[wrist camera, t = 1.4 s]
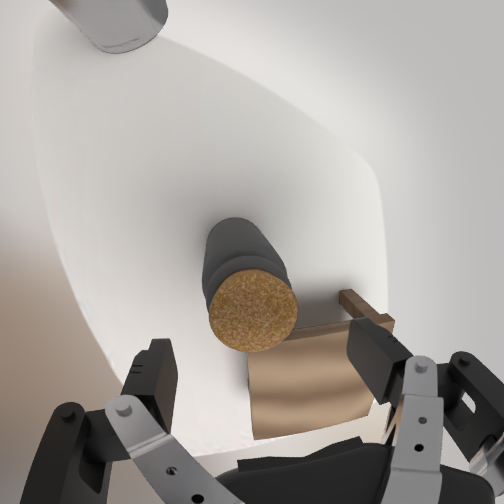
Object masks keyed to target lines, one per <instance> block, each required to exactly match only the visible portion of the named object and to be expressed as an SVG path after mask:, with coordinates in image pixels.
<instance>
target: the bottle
mask: <svg viewBox="0 0 504 504" xmlns="http://www.w3.org/2000/svg"><path fill="white" fill-rule="evenodd" d="M202 288H203V293H204V296H205V298H206V306H207V310H208V313H209V322H210V326H211V329H212V331H213V332H214V334H215V335H216V337H217V338H218V339H219V340H220V341H221V342H222V343H223V344H225V345H226V346H228V347H230V348H232V349H235V350H238V351H243V352H258V351H263V350H267V349H269V348H271V347H274V346H276V345H277V344H279V343H280V342H282V341H283V340H284V339H285V338H286V337H287V336H288V335H289V334H290V332H291V331H292V329H293V327H294V325H295V323H296V320H297V316H298V304H297V300H296V297H295V295H294V293H293V291H292V288H291V284H290V282H289V279H288V278H287V272H286V268H285V265H284V263H283V261H282V260H281V258H280V256H279V255H278V254H277V252H276V251H275V250H274V248H273V247H272V246H271V244H270V243H269V242H268V240H267V239H266V238H265V237H264V235H263V234H262V233H261V231H260V230H259V229H258V228H257V227H256V226H255V225H254V224H253V223H251V222H250V221H248V220H245V219H242V218H229V219H226V220H223V221H221V222H220V223H218V224H217V225H216V226H215V227H214V228H213V229H212V231H211V232H210V234H209V237H208V240H207V244H206V251H205V258H204V266H203V274H202Z"/></svg>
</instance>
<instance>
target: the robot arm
mask: <svg viewBox="0 0 504 504" xmlns="http://www.w3.org/2000/svg"><path fill="white" fill-rule="evenodd" d="M49 1H50V2H51V3H53V4H54V5H55V6H56V7H57V8H58V9H59V10H60V11H61V12H62V13H63V14H64V15H65V16H66V17H67V18H68V19H69V20H70V21H71V22H72V23H73V24H74V25H75V26H76V27H77V28H78V29H79V30H80V31H81V32H82V33H83V34H84V35H85V36H86V37H87V38H88V39H89V40H90V41H91V42H92V43H93V44H94V45H95V46H96V47H97V48H98V49H100V50H102V51H104V52H107V53H122V52H127V51H130V50H133V49H135V48H138V47H140V46H142V45H143V44H145V43H147V42H148V41H150V40H151V39H152V38H153V37H155V36H156V35H157V34H158V33H159V31H160V30H161V29H162V28H163V26H164V24H165V23H166V20H167V17H168V8H167V4H166V0H49ZM346 351H347V357H348V359H349V361H350V362H351V364H352V365H353V367H354V368H355V369H356V371H357V372H358V374H359V375H360V377H361V378H362V380H363V381H364V383H365V384H366V386H367V387H368V388H369V390H370V391H371V393H372V394H373V396H374V397H375V399H376V400H377V402H378V403H379V405H382V404H384V403H387V402H390V403H391V407H390V409H389V413H388V417H387V422H386V426H385V430H384V434H383V437H382V441H381V444H379V443H363V442H362V440H361V438H360V437H359V436H358V437H355V438H351V439H348V440H344V441H341V442H337V443H334V444H331V445H329V446H327V447H325V448H323V449H321V450H319V451H317V452H314V453H312V454H310V455H308V456H305V457H263V458H262V457H261V458H253V459H243V460H237V463H238V468H236V469H233V470H230V471H227V472H225V473H223V474H221V475H219V476H217V477H215V478H214V477H212V475H211V474H209V473H208V472H207V471H206V470H205V469H204V468H203V467H202V466H201V465H200V464H199V463H198V462H197V461H196V460H195V459H194V458H193V457H192V456H191V455H190V454H189V453H188V452H187V451H186V450H185V449H184V447H183V446H182V445H181V444H180V443H179V442H178V441H177V440H176V439H175V438H174V437H173V436H172V435H171V434H170V433H171V425H172V417H173V409H174V402H175V395H176V388H177V381H178V371H177V365H176V361H175V357H174V353H173V348H172V344H171V341H170V339H169V338H167V339H152V341H151V344H150V347H149V349H148V350H142V351H141V352H139V353H138V354H137V355H136V356H135V358H134V360H133V363H132V367H131V368H130V370H129V373H128V376H127V378H126V381H125V384H124V386H123V389H122V392H121V395H120V396H117V397H115V398H113V399H111V400H110V401H109V402H108V403H107V405H106V407H105V409H102V410H95V411H88V412H85V410H84V409H83V407H82V406H81V405H80V404H78V403H75V402H67V403H64V404H61V405H59V406H58V407H57V408H56V409H55V410H54V412H53V414H52V416H51V418H50V421H49V423H48V425H47V427H46V430H45V432H44V435H43V437H42V439H41V442H40V445H39V447H38V450H37V452H36V455H35V457H34V460H33V463H32V466H31V469H30V472H29V474H28V477H27V480H26V484H25V487H24V490H23V494H22V497H21V501H20V504H106V502H107V495H108V487H109V481H110V474H111V468H112V462H113V461H120V460H127V459H132V460H133V461H134V463H135V464H136V466H137V467H138V468H139V470H140V471H141V473H142V474H143V476H144V477H145V478H146V480H147V481H148V482H149V484H150V485H151V486H152V488H153V489H154V490H155V491H156V493H157V494H158V495H159V497H160V498H161V499H162V500H163V501H164V502H165V504H495V498H496V497H497V496H500V495H502V494H504V384H503V383H502V382H501V381H500V380H499V379H498V378H497V377H496V376H495V375H494V374H493V373H492V372H491V371H490V370H489V369H488V368H487V367H486V366H484V365H483V364H482V363H481V362H480V361H479V360H478V359H477V358H476V357H475V356H474V355H472V354H470V353H468V352H463V351H460V352H456V353H454V354H453V355H452V356H451V359H450V362H449V363H444V364H436V363H435V362H434V361H433V360H432V359H430V358H428V357H425V356H413V355H412V353H411V352H409V351H408V350H407V348H406V347H405V346H403V345H402V344H401V343H400V342H399V341H398V340H397V339H396V338H395V337H393V335H392V334H391V333H390V332H389V331H388V330H387V329H385V328H383V327H381V326H379V325H375V324H374V323H373V322H372V321H371V320H370V319H369V318H368V317H363V318H358V319H352V320H351V322H350V327H349V334H348V341H347V347H346ZM465 392H466V393H467V394H468V395H469V396H470V397H471V398H472V400H473V401H474V402H475V405H476V409H475V413H473V412H472V411H471V410H470V409H469V407H468V406H467V405H466V404H465V403H464V401H463V400H462V397H463V395H464V393H465ZM443 426H444V427H445V429H446V430H447V431H448V433H449V434H450V436H451V437H452V439H453V440H454V442H455V443H456V444H457V446H458V447H459V449H460V450H461V452H462V453H463V455H464V456H465V458H466V459H467V461H468V462H469V470H470V472H466V471H462V470H459V469H455V468H451V467H448V466H445V465H441V464H440V459H441V450H442V435H443Z"/></svg>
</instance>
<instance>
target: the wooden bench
mask: <svg viewBox="0 0 504 504" xmlns="http://www.w3.org/2000/svg"><path fill="white" fill-rule="evenodd" d="M339 303H340V304H341V305H342V306H343V308H344V309H345V310H346V311H347V312H348V313H349V314H350V315H351V316H352V317H353V319H358V318H363V317H368V318H369V319H370V320H371V321H372V322H373V323H374V324H375V325H379V326H381V327H383V328H385V329H387V330H388V331H389V332H390V333H391V334H392V332H393V328H394V323H395V320H394V319H393V318H392V317H391V316H389V315H388V314H387V313H385V314H379V313H378V312H377V311H375V310H374V309H373V308H372V307H371V306H370V305H369V304H368V303H367V302H366V301H365V300H363V299H362V298H361V297H360V296H359V295H358V294H357V293H356V292H355V291H353V290H352V289H348V290H341V291H340V297H339ZM350 322H351V320H350V321H344V322H338V323H332V324H326V325H320V326H313V327H307V328H300V329H292V331H291V332H290V334H289V335H288V336H287V337H286V338H285V339H284V340H283V341H282V342H280V343H279V344H277V345H276V346H274V347H271V348H269V349H267V350H263V351H258V352H247V365H248V388H249V394H250V407H251V420H252V431H253V437H254V440H260V439H268V438H274V437H281V436H287V435H292V434H298V433H303V432H308V431H312V430H317V429H321V428H325V427H330V426H333V425H337V424H341V423H344V422H348V421H352V420H355V419H358V418H362V417H364V416H368V414H369V411H370V408H371V405H372V402H373V400H374V396H373V394H372V393H371V391H370V390H369V388H368V387H367V386H366V384H365V383H364V381H363V380H362V378H361V377H360V375H359V374H358V372H357V371H356V369H355V368H354V367H353V365H352V364H351V362H350V361H349V359H348V357H347V351H346V347H347V341H348V334H349V327H350Z"/></svg>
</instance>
